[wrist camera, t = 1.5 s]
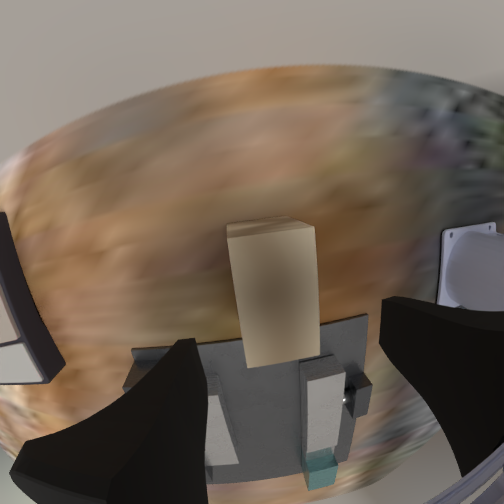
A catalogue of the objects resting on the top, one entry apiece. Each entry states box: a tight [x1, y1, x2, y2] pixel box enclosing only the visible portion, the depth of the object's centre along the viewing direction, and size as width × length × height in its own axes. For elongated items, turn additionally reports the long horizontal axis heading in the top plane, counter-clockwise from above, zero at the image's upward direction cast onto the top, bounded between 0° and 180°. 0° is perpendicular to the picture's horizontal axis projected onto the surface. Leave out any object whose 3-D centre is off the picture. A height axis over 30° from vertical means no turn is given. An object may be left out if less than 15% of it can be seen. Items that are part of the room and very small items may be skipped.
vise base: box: [122, 314, 372, 484], centre depth 20 cm, size 19×22×4 cm
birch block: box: [227, 216, 320, 368], centre depth 16 cm, size 4×7×6 cm, turn 7°
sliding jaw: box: [299, 355, 346, 491], centre depth 20 cm, size 3×18×4 cm, turn 7°
